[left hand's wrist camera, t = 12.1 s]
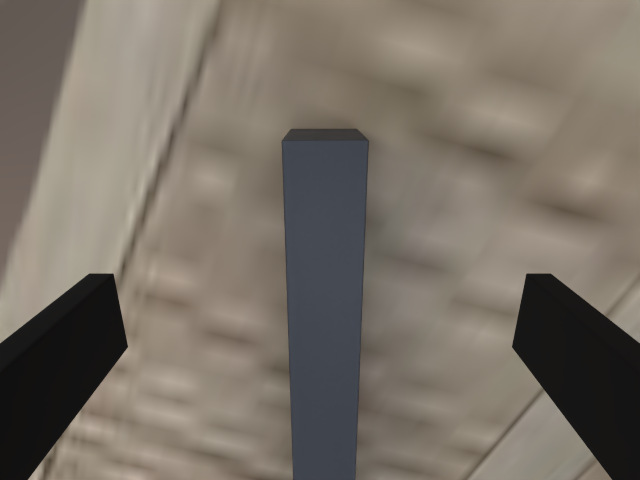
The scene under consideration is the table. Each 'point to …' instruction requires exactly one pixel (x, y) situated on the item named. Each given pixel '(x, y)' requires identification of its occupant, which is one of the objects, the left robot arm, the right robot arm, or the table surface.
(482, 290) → the table surface
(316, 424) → the beam
